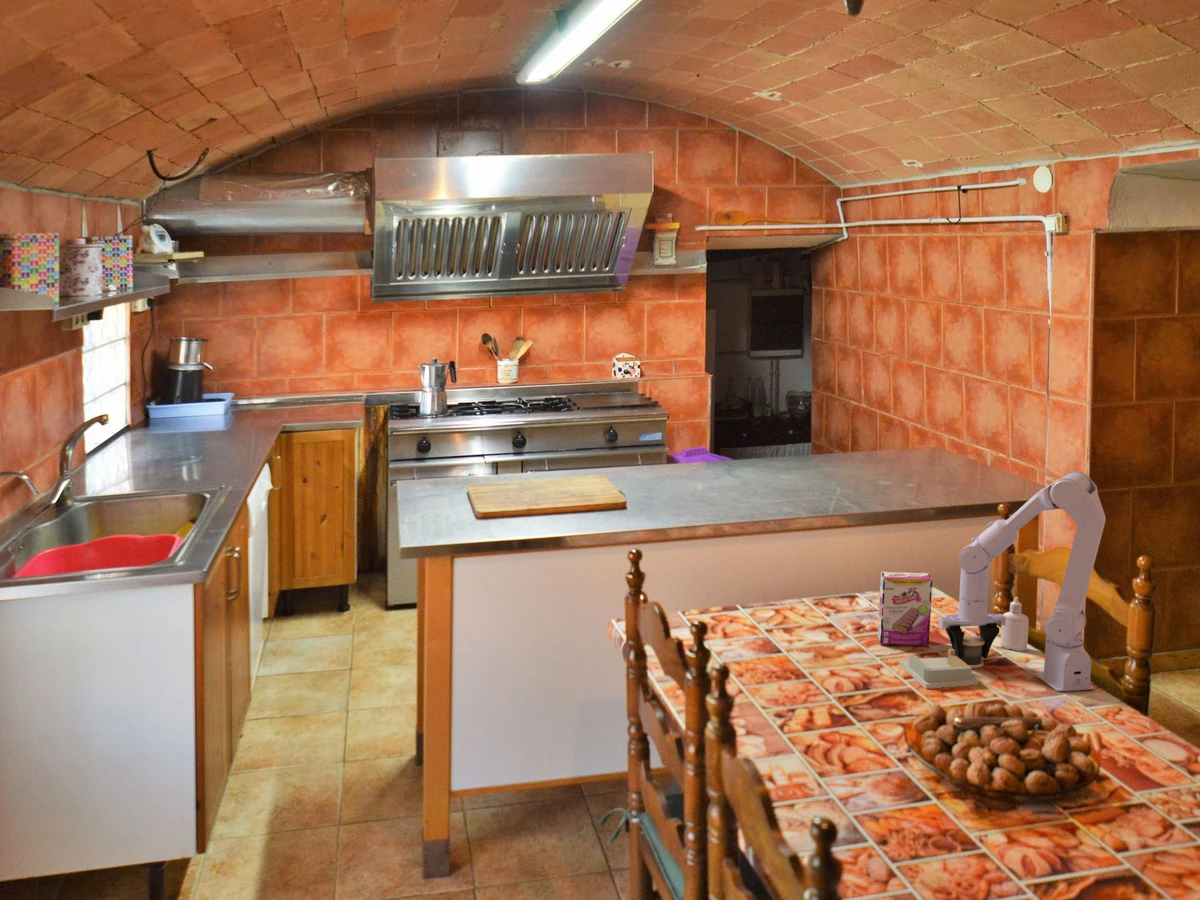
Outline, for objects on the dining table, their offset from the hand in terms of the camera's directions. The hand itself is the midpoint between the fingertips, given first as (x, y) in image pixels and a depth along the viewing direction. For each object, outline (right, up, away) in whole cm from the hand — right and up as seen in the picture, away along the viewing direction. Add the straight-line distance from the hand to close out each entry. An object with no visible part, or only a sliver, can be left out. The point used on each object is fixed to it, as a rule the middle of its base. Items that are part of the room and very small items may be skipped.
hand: (970, 657), depth 247 cm
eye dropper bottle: (+13, 0, +9) cm, 16 cm away
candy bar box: (-11, +1, +14) cm, 18 cm away
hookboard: (-9, -3, -6) cm, 11 cm away
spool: (0, -1, 0) cm, 1 cm away
